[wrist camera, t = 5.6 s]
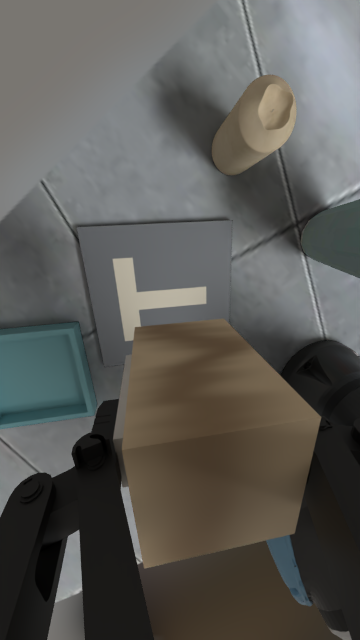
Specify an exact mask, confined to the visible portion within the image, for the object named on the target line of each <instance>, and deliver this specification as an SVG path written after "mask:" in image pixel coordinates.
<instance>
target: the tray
mask: <svg viewBox="0 0 360 640" xmlns="http://www.w3.org/2000/svg"><path fill="white" fill-rule="evenodd" d="M96 407H97V401H96V397H95V392H94V388H93V383H92V379H91V375H90V370H89V366H88V361H87V357H86V352H85V348H84V344H83V339H82V335H81V330H80V326H79V322H70V323H59V324H49V325H38V326H28V327H17V328H7V329H0V429H5V428H12V427H19V426H26V425H33V424H40V423H46V422H53V421H60V420H67V419H74V418H81V417H87V416H94V414H95V411H96Z"/></svg>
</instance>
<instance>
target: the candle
mask: <svg viewBox="0 0 360 640" xmlns="http://www.w3.org/2000/svg"><path fill="white" fill-rule="evenodd" d="M295 120H296V101H295V97H294V94H293V92H292V90H291V88H290V86H289V85H288V84H287V83H286V82H285V81H284V80H283V79H282V78H280V77H278V76H275V75H264V76H261V77H259V78H257V79H256V80H254V81H253V82H252V83H251V84H250V85H249V86H248V87H247V89H246V90H245V92H244V93H243V95H242V96H241V97H240V99H239V100H238V102H237V103H236V105H235V106H234V108H233V109H232V111H231V112H230V113H229V115H228V116H227V118H226V119H225V121H224V122H223V124H222V125H221V127H220V128H219V130H218V131H217V133H216V135H215V137H214V139H213V143H212V158H213V161H214V163H215V165H216V167H217V168H218V169H219V170H220V171H221V172H222V173H224V174H226V175H237V174H240V173H242V172H244V171H245V170H247V169H248V168H250V167H251V166H253V165H254V164H256V163H257V162H259V161H260V160H262V159H263V158H265V157H266V156H268V155H269V154H271V153H272V152H274V151H275V150H277V149H278V148H280V147H281V146H282V145H283V144H284V143H285V142H286V141H287V139H288V138H289V136H290V135H291V132H292V130H293V128H294V124H295Z"/></svg>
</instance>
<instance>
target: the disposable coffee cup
mask: <svg viewBox="0 0 360 640" xmlns="http://www.w3.org/2000/svg"><path fill="white" fill-rule="evenodd" d="M300 243H301V246H302V249H303V252H304V253H305V254H306V255H307V256H309V257H310V258H312V259H313V260H316V261H318V262H321V263H323V264H326V265H328V266H331V267H333V268H335V269H338V270H340V271H343V272H345V273H348V274H350V275H353V276H355V277H358V278H360V199H359V200H356V201H353V202H350V203H347V204H344V205H340V206H337V207H334V208H331V209H328V210H324V211H322V212H320V213H319V214H317V215H316V216H314V217H313V218H311V219H310V220H309V221H308V222H307V224H306V226H305V227H304V229H303V230H302V235H301V242H300Z"/></svg>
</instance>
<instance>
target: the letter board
mask: <svg viewBox="0 0 360 640" xmlns="http://www.w3.org/2000/svg"><path fill="white" fill-rule="evenodd" d="M232 223H233V220H225V221H203V222H181V223H158V224H136V225H114V226H91V227H77V232H78V237H79V242H80V247H81V252H82V257H83V262H84V267H85V273H86V278H87V283H88V288H89V293H90V298H91V303H92V308H93V313H94V318H95V323H96V328H97V333H98V338H99V343H100V348H101V353H102V358H103V364H104V367H109V366H117V365H125V358H126V355H132V349H133V339H134V330H135V327H142V326H152V325H162V324H172V323H183V322H193V321H203V320H213V319H225V320H226V321H227V322H228V323H229V317H230V285H231V254H232Z"/></svg>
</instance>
